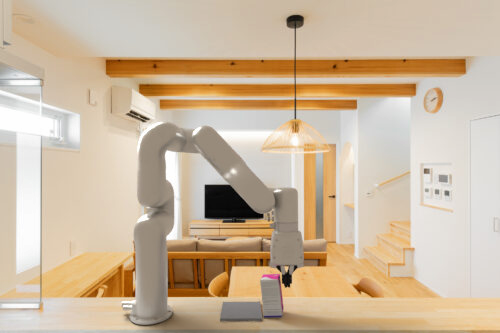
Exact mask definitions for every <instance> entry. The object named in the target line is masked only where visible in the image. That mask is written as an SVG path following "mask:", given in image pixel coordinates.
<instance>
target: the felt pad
mask: <svg viewBox="0 0 500 333" xmlns="http://www.w3.org/2000/svg"><path fill="white" fill-rule="evenodd" d="M262 316H263V314H262V307H261V301H222V306H221V312H220V316H219V317H220V318H219V321H220V322H262V321H263V317H262Z"/></svg>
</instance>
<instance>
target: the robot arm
mask: <svg viewBox="0 0 500 333" xmlns="http://www.w3.org/2000/svg"><path fill="white" fill-rule="evenodd" d="M137 143H138V145H137V155H136V156H137V158H136V159H137V169H136V170H137V172H136V173H137V174H136V176H137V177H136V178H137V179H136V180H137V181H136V197H137V201H138V202H139V204H140V205H141V206H142V207H144V208H145V209H146V211H145V212H146V213H145V214H143V215H142V216H141V217H139V218H138V220H137V221H135V222H136V223H135V224H134V227H133V243H134V252H135V253H134V254H135V296H134V297H135V299H133V300H132V301H131V300H124V301H122V302H121V307H122V310H123V311H130V313H129V320H130V322H132V323H134V324H136V325H144V326H145V325H146V326H148V325H154V324H155V325H156V324H158V323H162V322H165V321H167V320H168V319H169V318H170V317H172V315H173V307H172V306H171V305H169V304H168V298H169V296H168V286H169V285H168V283H169V282H168V276H169V275H168V274H169V272H168V271H169V270H168V269H169V265H168V264H169V263H168V262H169V261H168V260H169V258H168V255H169V254H168V253H169V252H168V243H167V242H168V241H167V237H168V236H169V235H170V233H171V232H172V231H173V229H174V226H175V191H174V190H175V189H174V186H173V184H172V183H171V182H170V181H169V180H168V179H167V172H166V171H167V162H166V152H168V151H169V152H174V153H185V154H186V153H187V154H199V155H201V156H202V158H204V160H206V162H207V163H209V165H211V167H212V168H213V169H214V170H215V171H216V172H217V173H218V174H219V175H220V176H221V178H222V179H223V180H224V181H225V182H227V184H229V186H231V187H232V189H234V191H235V192H236V193H237V194H238V195H239V196H240V197H241V198H242V199H243V200H244V202H246V204H247V205H248V206H249V207H250V208H251V209H252V210H253V211H254V212H256V213H258V214H263V215H264V214H268V213H270V212H271V211H272V210H273V222H272V223H269V228H270V229H273V230H272V232H271V235H270V236H271V238H270V247H269V248H270V249H269V252H270V253H269V256H270V261H269V267H270V269H276V270H278V272H280V273H281V285H283V286H284V288H291V285H292V284H293V274H294V272H295V271H296V270H297V269H301V268H303V267H304V266H305V263H304V261H305V259H304V258H305V257H304V256H305V255H304V254H305V253H304V242H303V234H302V231H301V230H299V193H298V190H297V189H296V188H295V187H274V188H273V187H267V186H266V184H265V183H264V182H263V181H262V180H261V179H260V178H259V176H257V175H256V174H255V173H254V172H253V171H252V169H251V168H250V167H249V166H248V164H247V163H246V162H245V160H244V159H243V158H242V157H241V155H239V154H238V153H237V151H235V149H233V147H232V146H231V145H230V144H229V143H228V142H227V141H226V139H224V138H223V137H222V135H221V134H220V133H218V131H217V130H216V129H214V128H213V127H212V126H209V125H201V126H198V127H197V128H187V127H179V126H177V125H176V124H175V123H173V122H170V121H159V122H156V123H154V124H152V125H150V126H149V127H147V128H146V129H145V130H144V131H143V133H142V134H141V136H140V138H139V141H138V142H137ZM285 266H288V268H287V271H286V267H285Z"/></svg>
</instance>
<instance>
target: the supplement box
mask: <svg viewBox="0 0 500 333" xmlns="http://www.w3.org/2000/svg"><path fill="white" fill-rule="evenodd" d="M259 283H260V291H261V292H260V293H261V302H262V310H263V319H270V318H271V319H272V318H283V313H284V307H285V306H284V299H283V291H282V290H283V289H282V279H281V274H280V273H270V274H269V273H268V274H265V273H264V274H262V276H261V278H260V280H259Z"/></svg>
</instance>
